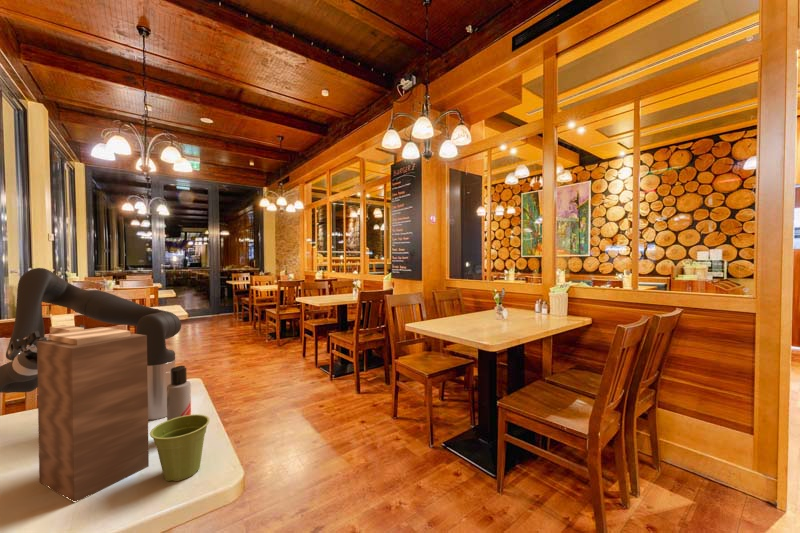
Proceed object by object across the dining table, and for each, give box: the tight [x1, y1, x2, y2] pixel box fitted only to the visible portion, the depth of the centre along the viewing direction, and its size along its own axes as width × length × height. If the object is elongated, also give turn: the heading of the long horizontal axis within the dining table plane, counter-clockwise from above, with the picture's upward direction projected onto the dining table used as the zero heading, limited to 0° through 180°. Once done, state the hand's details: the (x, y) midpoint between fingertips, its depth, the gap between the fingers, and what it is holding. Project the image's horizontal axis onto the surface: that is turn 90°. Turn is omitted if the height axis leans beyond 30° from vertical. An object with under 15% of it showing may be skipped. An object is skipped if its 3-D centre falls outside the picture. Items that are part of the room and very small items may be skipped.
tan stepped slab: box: [48, 324, 131, 345], centre depth 82 cm, size 23×10×2 cm, turn 65°
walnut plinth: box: [37, 332, 150, 501], centre depth 80 cm, size 16×14×32 cm
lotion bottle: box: [166, 365, 192, 421], centre depth 97 cm, size 6×6×20 cm
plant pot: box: [149, 414, 210, 482], centre depth 80 cm, size 12×12×11 cm
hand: (61, 330), depth 86 cm, fingers open, 8 cm apart
